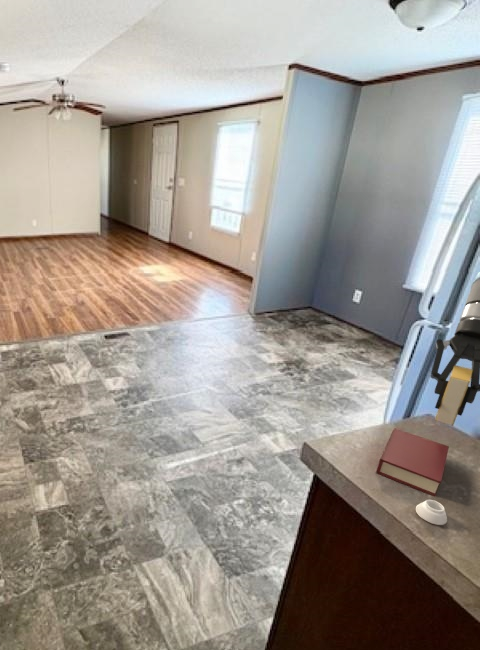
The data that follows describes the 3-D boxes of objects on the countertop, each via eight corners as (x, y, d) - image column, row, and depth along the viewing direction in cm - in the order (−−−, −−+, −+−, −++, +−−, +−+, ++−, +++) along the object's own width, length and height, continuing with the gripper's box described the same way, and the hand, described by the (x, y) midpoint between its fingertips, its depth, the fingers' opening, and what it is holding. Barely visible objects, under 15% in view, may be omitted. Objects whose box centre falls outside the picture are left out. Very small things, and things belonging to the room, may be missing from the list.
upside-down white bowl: (435, 529, 82) (451, 521, 83) (440, 518, 80) (456, 510, 82) (409, 511, 86) (424, 504, 88) (413, 500, 85) (429, 493, 86)
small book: (456, 412, 105) (473, 369, 100) (452, 426, 99) (470, 381, 94) (439, 407, 107) (454, 365, 102) (434, 420, 101) (450, 376, 97)
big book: (389, 440, 107) (393, 427, 106) (443, 460, 100) (449, 446, 99) (375, 472, 96) (380, 458, 95) (435, 496, 90) (441, 481, 88)
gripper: (520, 341, 101) (491, 428, 97) (434, 324, 112) (405, 402, 107) (528, 326, 96) (499, 418, 91) (438, 310, 106) (407, 392, 102)
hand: (448, 409), depth 99 cm, fingers closed on small book, 3 cm apart
